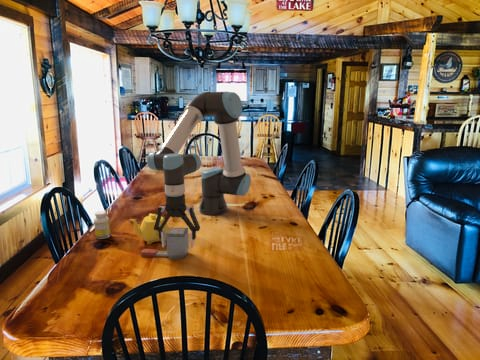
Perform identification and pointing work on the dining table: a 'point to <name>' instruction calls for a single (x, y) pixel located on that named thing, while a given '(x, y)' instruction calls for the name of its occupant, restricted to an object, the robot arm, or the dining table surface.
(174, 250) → the rimmed grey cube
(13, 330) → the dining table surface
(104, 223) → the pill bottle
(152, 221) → the teapot
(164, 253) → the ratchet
